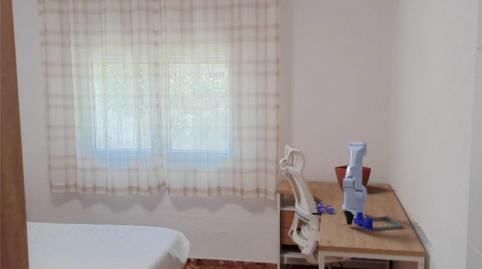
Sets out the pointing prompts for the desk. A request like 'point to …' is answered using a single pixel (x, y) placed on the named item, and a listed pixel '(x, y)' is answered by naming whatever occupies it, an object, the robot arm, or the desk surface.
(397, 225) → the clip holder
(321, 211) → the toy race car
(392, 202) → the desk surface
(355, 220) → the cable clip
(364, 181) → the plant pot
